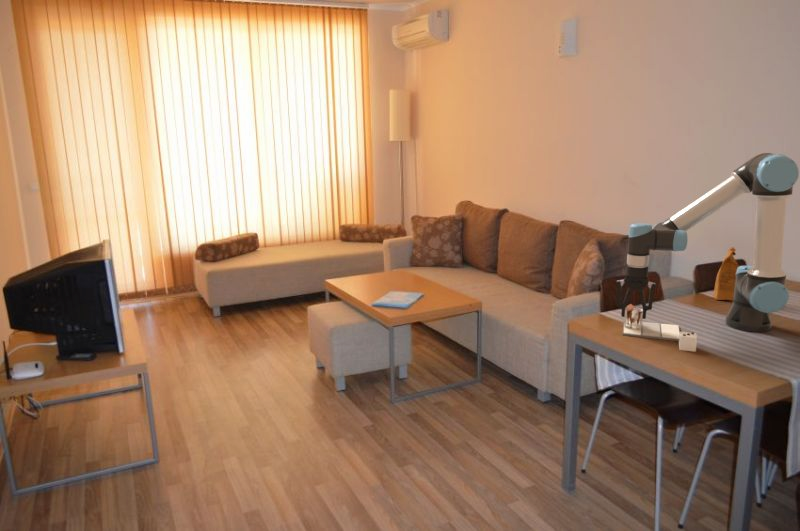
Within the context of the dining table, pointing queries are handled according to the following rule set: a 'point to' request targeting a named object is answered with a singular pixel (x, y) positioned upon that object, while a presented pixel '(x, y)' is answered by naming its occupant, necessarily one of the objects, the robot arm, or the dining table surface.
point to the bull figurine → (633, 315)
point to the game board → (653, 331)
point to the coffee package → (726, 278)
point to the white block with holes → (687, 341)
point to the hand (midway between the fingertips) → (632, 325)
